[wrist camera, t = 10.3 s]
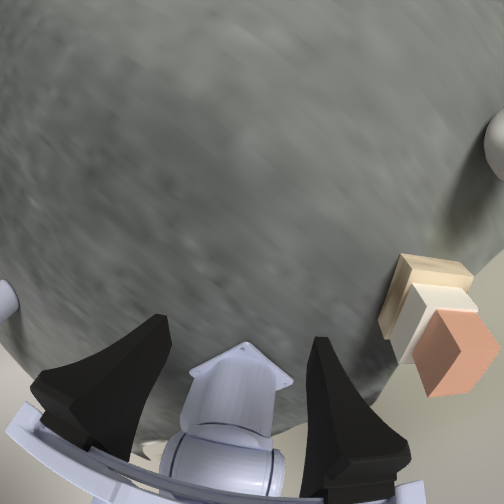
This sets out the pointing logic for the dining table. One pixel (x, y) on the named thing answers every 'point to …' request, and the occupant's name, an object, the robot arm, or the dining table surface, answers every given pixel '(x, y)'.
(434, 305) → the cream top block
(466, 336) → the terracotta cube
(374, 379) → the dining table surface
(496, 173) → the donut
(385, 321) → the birch base block
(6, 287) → the spray bottle
